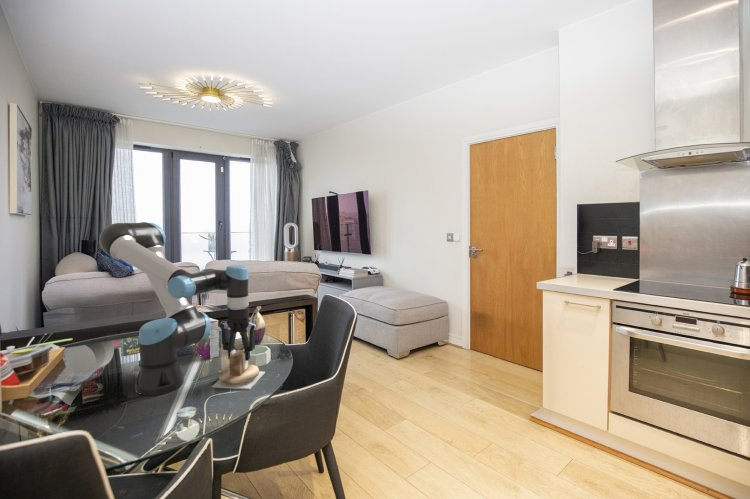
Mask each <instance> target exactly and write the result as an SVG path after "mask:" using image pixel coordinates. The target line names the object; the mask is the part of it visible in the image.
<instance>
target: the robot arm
mask: <svg viewBox="0 0 750 499" xmlns="http://www.w3.org/2000/svg"><path fill="white" fill-rule="evenodd" d="M166 238H167V237H166V234H165V230H164V229H163V228H162V227H161V226H160V225H158V224H156V223H153V222H147V221H145V222H144V221H142V222H115V223H112V224H109V225H107V226H106V227H104V229H103V230H102V231H101V233H100V235H99V238H98V240H99V241H98V243H99V246H100V248H101V249H102V251H103V252H104V253H105V254H106V255H108V256H109V257H111V258H112V259H115V260H119V261H121V260H122V261H124V262H125V263H127V264H129V265H131V266H132V267H134V268H136V269H137V270H139V271H140V272H142V273H144V274H145V275H146V277H147V278H148V281H149V282H150V284H151V286H152V289H153V290H154V292H155V295H156V296H157V298H158V299H159V302H160V304H161V306H162V307H163V310H164V312H165V314H166V316H165V317H163V318H158V319H153V320H150V321H148V322H146V323H144V324H143V325H142V326H141V327H140V328H139V331H138V338H137V339H138V347H139V366H140V367H139V371H138V375H137V378H136V381H135V386H134V387H135V392H136V391H137V392H138V393H141V394H145V395H144V396H157V395H158V396H159V395H163V394H166V393H169V392H172V391H174V390H176V389H179V388H181V386H182V385H184V383H185V376H184V373H183V371H182V367H181V366H180V363H179V360H178V359H179V356H178V352H179V351H182V350H184V349H185V348H188V347H191V346H193V345H195V344H197V343H198V342H200V341H202V340H204V339H205V338H206V337H207V336H208V334H209V330H210V327H211V324H210V320H209V318H210V317H209V315H207V314H206V313H205V312H203V311H198V308H197V307H196V305H193V304H190V302H189V300H188V298H191V297H193V296H197V295H200V294H201V295H202V294H204V293H208V292H212V291H226V307H227V309H226V312H227V315H226V316H227V321H226V322H222V323H221V324H220V325H219V327H220V328H219V329H220V330H221V344H222V350H224V351H227V356H228V357H227V359H228V360H229V357H230V356H231V355H233V354H234V353H235V352H236V351H237V350H236V349H235V344H236V343H235V342H236V338H237V334H238V333H239V335H240V338H241V340H242V346H243V349H244V352H243V353H242V354H243V370H245V369H246V368H247V367H248V360H249V359H250V351H252V350H253V349H255V329H256V327H257V324H252V323H250V320H249V319H250V307H249V305H250V301H249V279H250V276H249V269H248V267H247V266H246V265H243V264H233V265H232V264H230V265H228V266H226V267H225V268H226V269H214V268H204V269H202V270H200V271H199V272H194V273H190V272H189V271H187V270H185V269H183V268H181V267H180V266H178V265H176V264H174V263H173V262H171V261H170V260H167V259H166V255H165V254H164V252H165V249H166V248H165V245H166V242H167V241H166ZM248 326H249V329H250V332H249V339H248V335H247V327H248ZM229 329H230V331H229ZM138 393H137V394H138Z"/></svg>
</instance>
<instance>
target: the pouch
mask: <svg viewBox="0 0 750 499" xmlns="http://www.w3.org/2000/svg"><path fill="white" fill-rule="evenodd" d="M261 309H262V306H261V305H258V306H256V309H255V310H254V311H253V313H252V315H251V316H249V320H250V323H252V324H257V327H256V329H255V346H256V345H258V346H261V343H262V342H263V339H264V337H265V334H266V323H265V320H264V317H263V316H262V314H261V313H260V310H261ZM249 332H250V329H249V326H248V327H247V336H248V340H249Z"/></svg>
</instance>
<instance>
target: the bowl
mask: <svg viewBox="0 0 750 499" xmlns="http://www.w3.org/2000/svg"><path fill="white" fill-rule="evenodd" d="M242 350H244V348H243V349H242ZM271 355H272V352H271V348H269V347H268V346H267V345H260V346H258V345H256V346H255V349H253V350H252V351H250V359H249V364H251V365H255V366H257V367H258V368H259V367H262V366H265V365H266V366H267V365H268V363H269V362H271V361H272V358H271Z"/></svg>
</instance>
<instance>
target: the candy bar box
mask: <svg viewBox="0 0 750 499" xmlns="http://www.w3.org/2000/svg"><path fill="white" fill-rule="evenodd" d="M208 318H209V320H210V324H211V327H210V330H209V334H208V336H207V337H206V338H205V339H204V340H202V341H200V342H198V343H197V344H194V348H195V349H194V350H195V352H194V354H195V353H197V354H199V355H198V356H200V355H201V356H200V357H202V358H205V357H206V358H205V359H208V360H213V359H216V358H218V357H220V333H219V332H220V331H219V330H220V328H219V327H220V325H219V320H218V319H215V318H211V317H208ZM197 354H196V355H197ZM215 357H216V358H215ZM212 358H213V359H212Z"/></svg>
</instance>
